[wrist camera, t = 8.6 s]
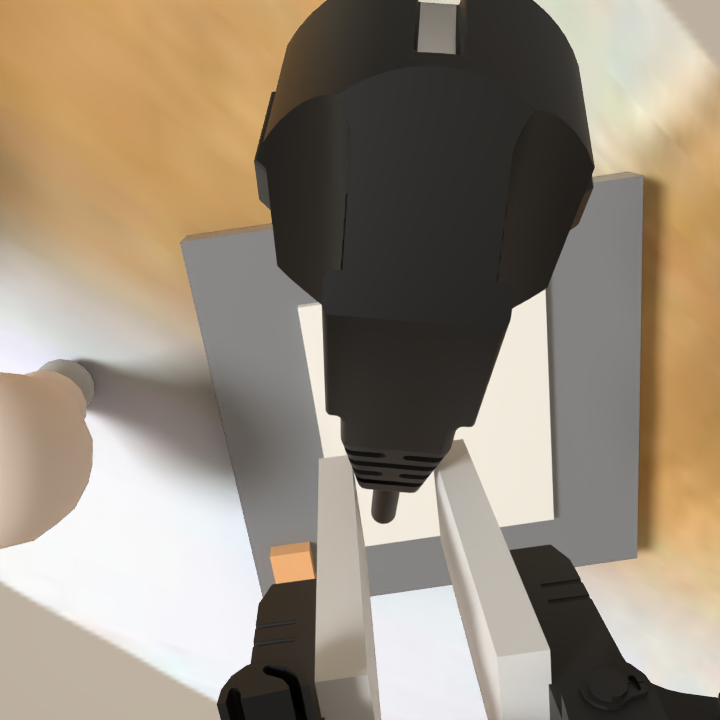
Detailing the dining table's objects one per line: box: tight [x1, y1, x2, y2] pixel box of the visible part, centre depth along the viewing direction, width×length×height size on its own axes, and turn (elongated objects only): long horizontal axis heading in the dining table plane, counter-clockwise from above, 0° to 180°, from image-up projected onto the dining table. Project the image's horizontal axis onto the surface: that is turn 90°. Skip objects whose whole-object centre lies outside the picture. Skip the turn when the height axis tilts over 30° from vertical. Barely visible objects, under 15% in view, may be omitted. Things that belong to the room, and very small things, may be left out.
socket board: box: [180, 172, 643, 597], centre depth 33 cm, size 20×20×2 cm
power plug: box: [254, 0, 595, 524], centre depth 15 cm, size 6×8×12 cm
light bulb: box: [0, 359, 95, 549], centre depth 28 cm, size 7×7×11 cm
